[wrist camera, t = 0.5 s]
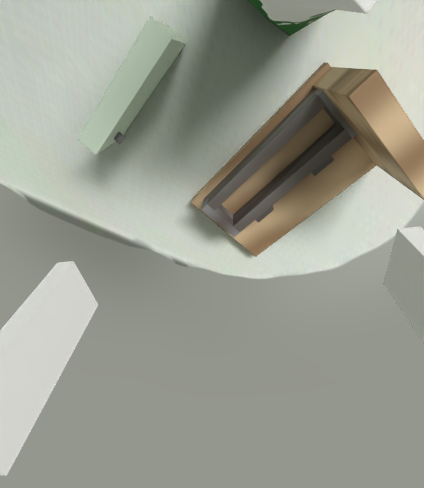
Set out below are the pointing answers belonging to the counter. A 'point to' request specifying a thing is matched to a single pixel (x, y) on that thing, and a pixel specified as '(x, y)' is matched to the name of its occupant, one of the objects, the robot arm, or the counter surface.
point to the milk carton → (305, 11)
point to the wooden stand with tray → (313, 156)
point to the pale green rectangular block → (132, 85)
